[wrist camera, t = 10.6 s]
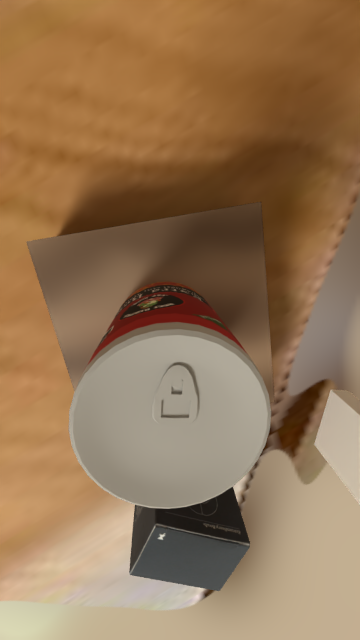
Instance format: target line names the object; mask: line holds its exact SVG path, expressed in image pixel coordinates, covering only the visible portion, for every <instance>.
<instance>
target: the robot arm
mask: <svg viewBox="0 0 360 640" xmlns="http://www.w3.org/2000/svg"><path fill="white" fill-rule="evenodd" d="M314 445H315V446H316V447H317V449H318V450H319V451H320V453H321V454H322V455H323V457H324V458H325V459H326V461H327V462H328V463H329V465H330V466H331V467H332V469H333V470H334V471H335V473H336V474H337V475H338V477H339V478H340V479H341V481H342V482H343V483H344V485H345V486H346V487H347V489H348V490H349V491H350V492H351V494H352V495H353V497H354V498H355V499H356V501H357V502H358V503H359V505H360V400H359V399H358V398H357V397H356V396H354V395H353V394H352V393H351V392H349V391H348V390H331V391H330V394H329V397H328V401H327V404H326V407H325V411H324V414H323V417H322V421H321V424H320V427H319V431H318V434H317V437H316V440H315V444H314Z"/></svg>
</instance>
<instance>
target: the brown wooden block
mask: <svg viewBox="0 0 360 640" xmlns="http://www.w3.org/2000/svg"><path fill="white" fill-rule="evenodd" d="M27 245H28V249H29V252H30V255H31V258H32V261H33V264H34V267H35V270H36V273H37V276H38V280H39V283H40V286H41V289H42V292H43V295H44V298H45V301H46V304H47V307H48V310H49V314H50V317H51V320H52V323H53V326H54V329H55V332H56V335H57V338H58V341H59V345H60V348H61V351H62V354H63V357H64V360H65V363H66V366H67V369H68V372H69V376H70V379H71V382H72V385H73V388H74V391H76V387H77V384H78V382H79V380H80V378H81V376H82V374H83V372H84V370H85V368H86V366H87V365H88V363H89V361H90V359H91V357H92V355H93V353H94V352H95V350H96V348H97V347H98V345H99V343H100V341H101V340H102V338H103V336H104V335H105V333H106V331H107V330H108V328H109V326H110V324H111V323H112V321H113V319H114V318H115V316H116V314H117V313H118V311H119V309H120V307H121V306H122V304H123V303H124V302H125V301H126V300H127V298H128V297H129V296H130V295H132V294H133V293H134V292H135V291H137V290H138V289H140V288H142V287H144V286H146V285H149V284H153V283H157V282H174V283H180V284H183V285H185V286H188V287H190V288H192V289H193V290H195V291H196V292H198V293H199V294H200V295H201V296H202V297H203V298H204V299H205V300H206V301H207V302H208V303H209V305H210V306H211V307H212V308H213V310H214V311H215V312H216V313H217V315H218V316H219V317H220V318H221V320H222V321H223V322H224V324H225V325H226V326H227V327H228V329H229V330H230V331H231V332H232V334H233V335H234V336H235V337H236V339H237V340H238V341H239V342H240V344H241V345H242V347H243V348H244V350H245V351H246V352H247V354H248V355H249V357H250V358H251V360H252V361H253V363H254V364H255V365H256V367H257V368H258V370H259V373H260V375H261V377H262V378H263V381H264V384H265V386H266V389H267V391H268V394H269V400H270V403H272V402H275V401H274V386H273V371H272V356H271V341H270V326H269V312H268V297H267V282H266V267H265V252H264V237H263V222H262V207H261V202H257V203H251V204H245V205H239V206H233V207H227V208H222V209H216V210H210V211H204V212H198V213H192V214H186V215H180V216H174V217H169V218H163V219H157V220H151V221H145V222H139V223H133V224H127V225H121V226H116V227H110V228H104V229H98V230H92V231H86V232H80V233H74V234H68V235H63V236H57V237H51V238H45V239H39V240H33V241H27Z"/></svg>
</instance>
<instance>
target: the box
mask: <svg viewBox="0 0 360 640" xmlns="http://www.w3.org/2000/svg"><path fill="white" fill-rule="evenodd" d="M249 547H250V541H249V538H248V535H247V532H246V528H245V525H244V522H243V519H242V516H241V512H240V509H239V506H238V502H237V499H236V496H235V493H234V489H233V487H231V488H229V489H228V490H226V491H225V492H223V493H222V494H220V495H218V496H216V497H214V498H211V499H209V500H207V501H205V502H202V503H198V504H195V505H191V506H187V507H180V508H170V509H163V508H148V507H144V506H139V505H135V511H134V522H133V534H132V548H131V558H130V571H129V573H130V575H133V576H139V577H144V578H150V579H155V580H161V581H166V582H172V583H178V584H183V585H189V586H194V587H200V588H206V589H211V590H217V591H219V590H220V589H221V588H222V587H223V585H224V584H225V582H226V581H227V579H228V578H229V577H230V575H231V574H232V572H233V571H234V569H235V568H236V566H237V565H238V563H239V562H240V560H241V559H242V558H243V556H244V555H245V553H246V552H247V550H248V549H249Z"/></svg>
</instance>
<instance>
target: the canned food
mask: <svg viewBox="0 0 360 640" xmlns="http://www.w3.org/2000/svg"><path fill="white" fill-rule="evenodd" d="M270 420H271V407H270V400H269V394H268V391H267V389H266V386H265V384H264V381H263V378H262V377H261V375H260V373H259V370H258V368H257V367H256V365H255V364H254V363H253V361H252V360H251V358H250V357H249V355H248V354H247V352H246V351H245V350H244V348H243V347H242V345H241V344H240V342H239V341H238V340H237V339H236V337H235V336H234V335H233V334H232V332H231V331H230V330H229V329H228V327H227V326H226V325H225V324H224V322H223V321H222V320H221V318H220V317H219V316H218V315H217V313H216V312H215V311H214V310H213V308H212V307H211V306H210V305H209V303H208V302H207V301H206V300H205V299H204V298H203V297H202V296H201V295H200V294H199V293H198V292H196V291H195V290H193V289H192V288H190V287H188V286H185V285H183V284H180V283H174V282H157V283H153V284H149V285H146V286H144V287H142V288H140V289H138V290H137V291H135V292H134V293H133V294H132V295H130V296H129V297H128V298H127V300H126V301H125V302H124V303H123V304H122V306H121V307H120V309H119V311H118V313H117V314H116V316H115V318H114V319H113V321H112V323H111V324H110V326H109V328H108V330H107V331H106V333H105V335H104V336H103V338H102V340H101V341H100V343H99V345H98V347H97V348H96V350H95V352H94V353H93V355H92V357H91V359H90V361H89V363H88V365H87V366H86V368H85V370H84V372H83V374H82V376H81V378H80V380H79V382H78V384H77V387H76V391H75V393H74V397H73V400H72V404H71V407H70V412H69V433H70V439H71V444H72V448H73V450H74V452H75V455H76V457H77V459H78V462H79V463H80V465H81V466H82V468H83V469H84V470H85V472H86V473H87V475H88V476H89V477H90V478H91V479H92V480H93V481H94V482H95V483H96V484H97V485H99V486H100V487H101V488H102V489H103V490H105V491H107V492H108V493H110V494H111V495H113V496H115V497H116V498H119V499H121V500H124V501H126V502H129V503H131V504H135V505H139V506H144V507H148V508H163V509H170V508H180V507H187V506H191V505H195V504H198V503H202V502H205V501H207V500H209V499H211V498H214V497H216V496H218V495H220V494H222V493H223V492H225V491H226V490H228V489H229V488H231V487H233V486H234V485H235V484H236V483H237V482H238V481H239V480H241V479H242V478H243V477H244V476H245V475H246V474H247V473H248V472H249V470H250V469H251V468H252V466H253V465H254V464H255V463H256V461H257V460H258V458H259V456H260V454H261V452H262V450H263V448H264V446H265V444H266V440H267V437H268V434H269V430H270Z"/></svg>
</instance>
